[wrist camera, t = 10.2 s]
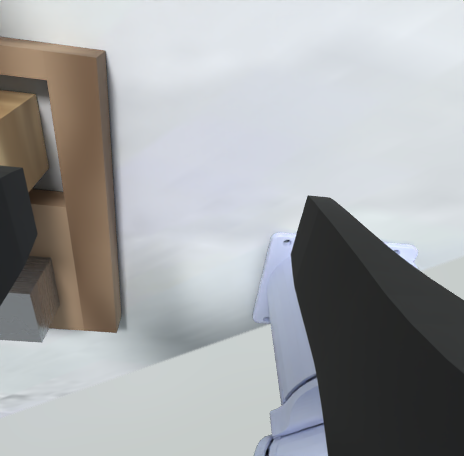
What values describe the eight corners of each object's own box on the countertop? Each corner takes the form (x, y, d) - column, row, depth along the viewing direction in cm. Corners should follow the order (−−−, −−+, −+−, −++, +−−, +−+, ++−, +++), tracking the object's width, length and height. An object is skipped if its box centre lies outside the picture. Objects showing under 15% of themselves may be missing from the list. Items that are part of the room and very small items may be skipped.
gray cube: (60, 242, 23) (29, 294, 20) (67, 288, 26) (42, 342, 22) (-8, 236, 23) (-51, 288, 19) (6, 283, 25) (-30, 337, 22)
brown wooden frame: (105, 50, 17) (96, 57, 16) (121, 316, 27) (116, 332, 26) (-157, 15, 16) (-188, 19, 15) (-38, 304, 26) (-50, 321, 25)
